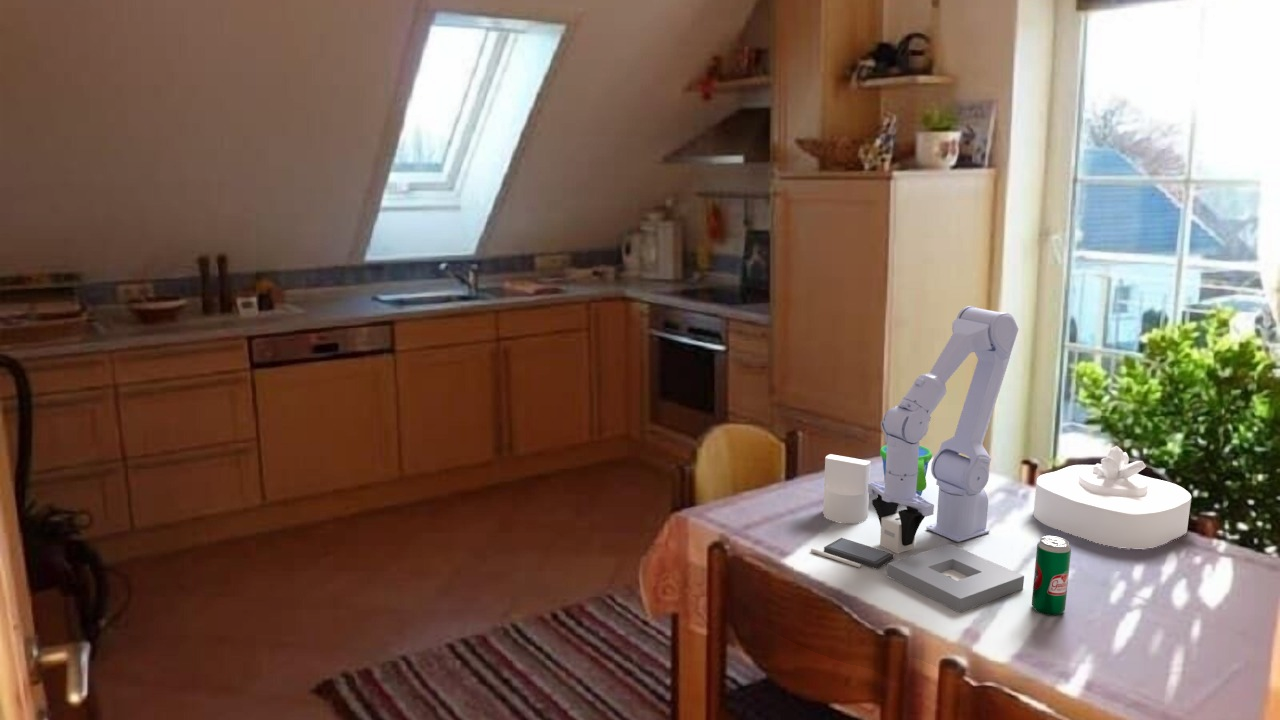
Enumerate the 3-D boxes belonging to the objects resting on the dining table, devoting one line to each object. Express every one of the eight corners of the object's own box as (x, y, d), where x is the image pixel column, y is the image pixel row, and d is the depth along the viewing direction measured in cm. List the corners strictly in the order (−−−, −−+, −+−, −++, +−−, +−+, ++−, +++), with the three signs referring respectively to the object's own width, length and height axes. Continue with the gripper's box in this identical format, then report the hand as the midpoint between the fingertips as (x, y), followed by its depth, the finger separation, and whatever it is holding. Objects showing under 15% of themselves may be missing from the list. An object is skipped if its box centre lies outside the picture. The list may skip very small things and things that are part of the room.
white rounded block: (873, 512, 200) (876, 457, 197) (858, 527, 192) (861, 469, 190) (832, 504, 204) (835, 450, 202) (816, 517, 197) (818, 461, 194)
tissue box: (1204, 528, 192) (1214, 451, 188) (1134, 558, 178) (1143, 475, 175) (1086, 491, 212) (1094, 421, 208) (1015, 515, 198) (1022, 440, 195)
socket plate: (948, 555, 179) (949, 543, 178) (1023, 588, 165) (1024, 575, 165) (886, 576, 170) (887, 563, 170) (959, 612, 157) (960, 598, 157)
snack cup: (868, 483, 217) (871, 439, 215) (914, 481, 218) (917, 438, 215) (890, 508, 202) (893, 462, 200) (940, 507, 202) (943, 461, 200)
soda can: (1050, 619, 155) (1056, 549, 152) (1024, 606, 159) (1030, 538, 156) (1071, 612, 157) (1078, 543, 154) (1045, 599, 161) (1052, 532, 159)
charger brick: (896, 540, 186) (898, 512, 184) (914, 548, 182) (915, 519, 181) (879, 545, 183) (881, 517, 182) (897, 553, 180) (898, 524, 178)
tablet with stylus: (832, 539, 186) (833, 534, 186) (893, 558, 177) (893, 553, 177) (810, 552, 180) (810, 546, 180) (871, 572, 172) (871, 566, 171)
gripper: (857, 464, 183) (854, 531, 186) (916, 486, 171) (911, 558, 174) (884, 457, 187) (880, 523, 190) (943, 479, 175) (938, 549, 178)
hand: (897, 539), depth 182 cm, fingers closed on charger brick, 4 cm apart
